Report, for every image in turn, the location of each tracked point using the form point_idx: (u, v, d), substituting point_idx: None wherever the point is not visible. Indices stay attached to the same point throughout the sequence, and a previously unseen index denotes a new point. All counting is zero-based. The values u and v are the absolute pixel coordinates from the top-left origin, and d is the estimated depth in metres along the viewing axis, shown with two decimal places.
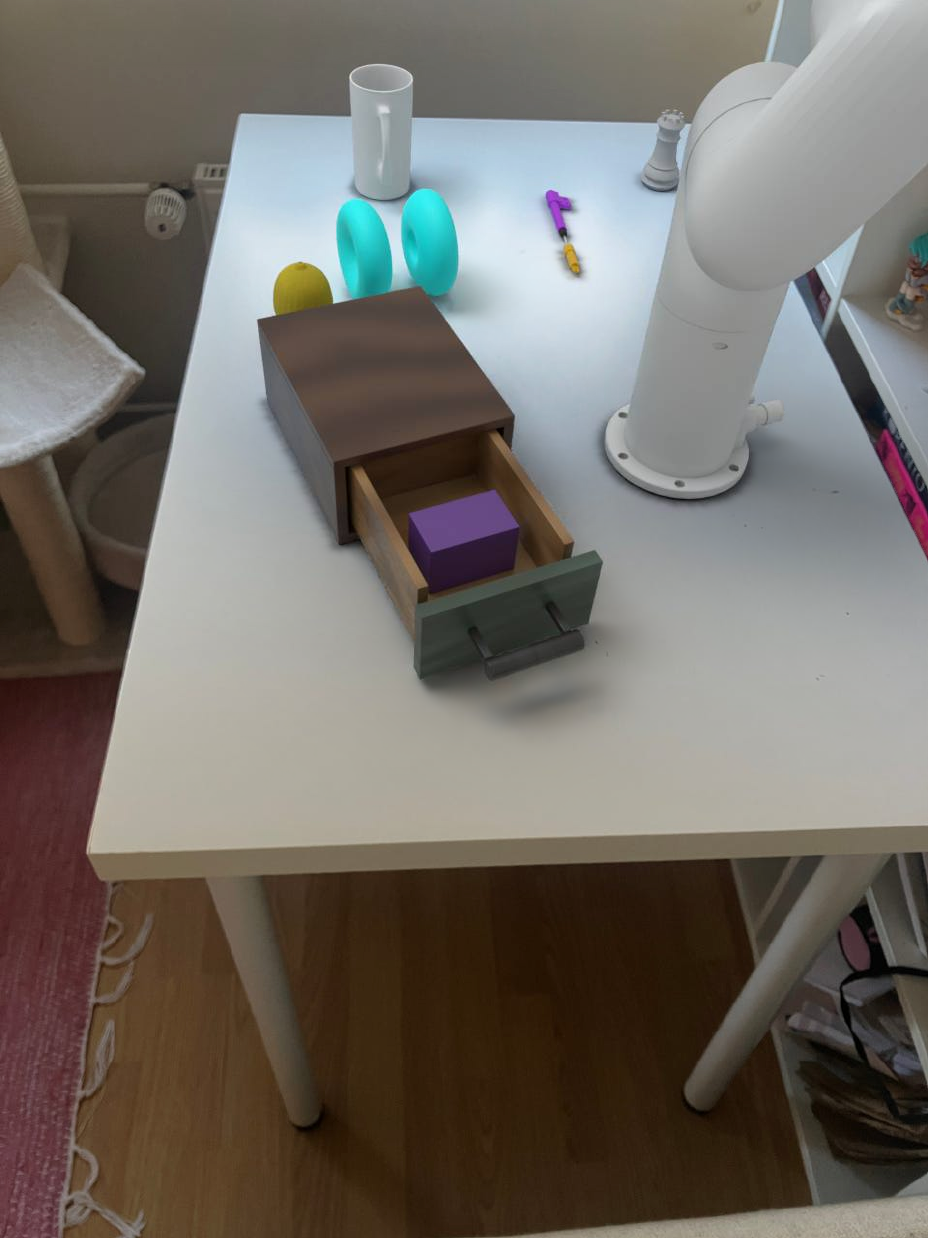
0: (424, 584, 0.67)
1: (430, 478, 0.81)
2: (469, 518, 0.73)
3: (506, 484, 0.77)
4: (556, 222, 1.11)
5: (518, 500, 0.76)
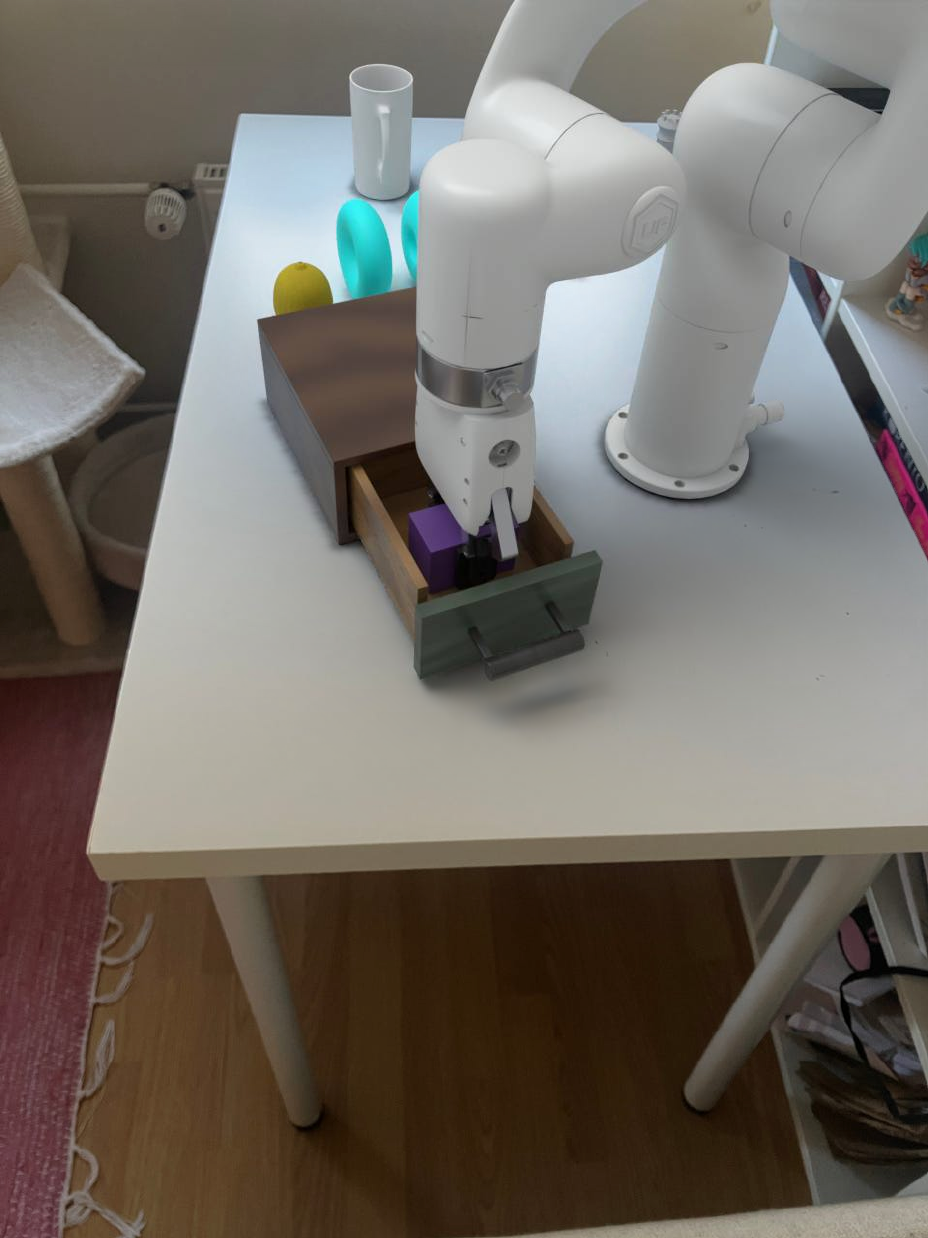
0: (424, 584, 0.67)
1: None
2: None
3: None
4: None
5: None
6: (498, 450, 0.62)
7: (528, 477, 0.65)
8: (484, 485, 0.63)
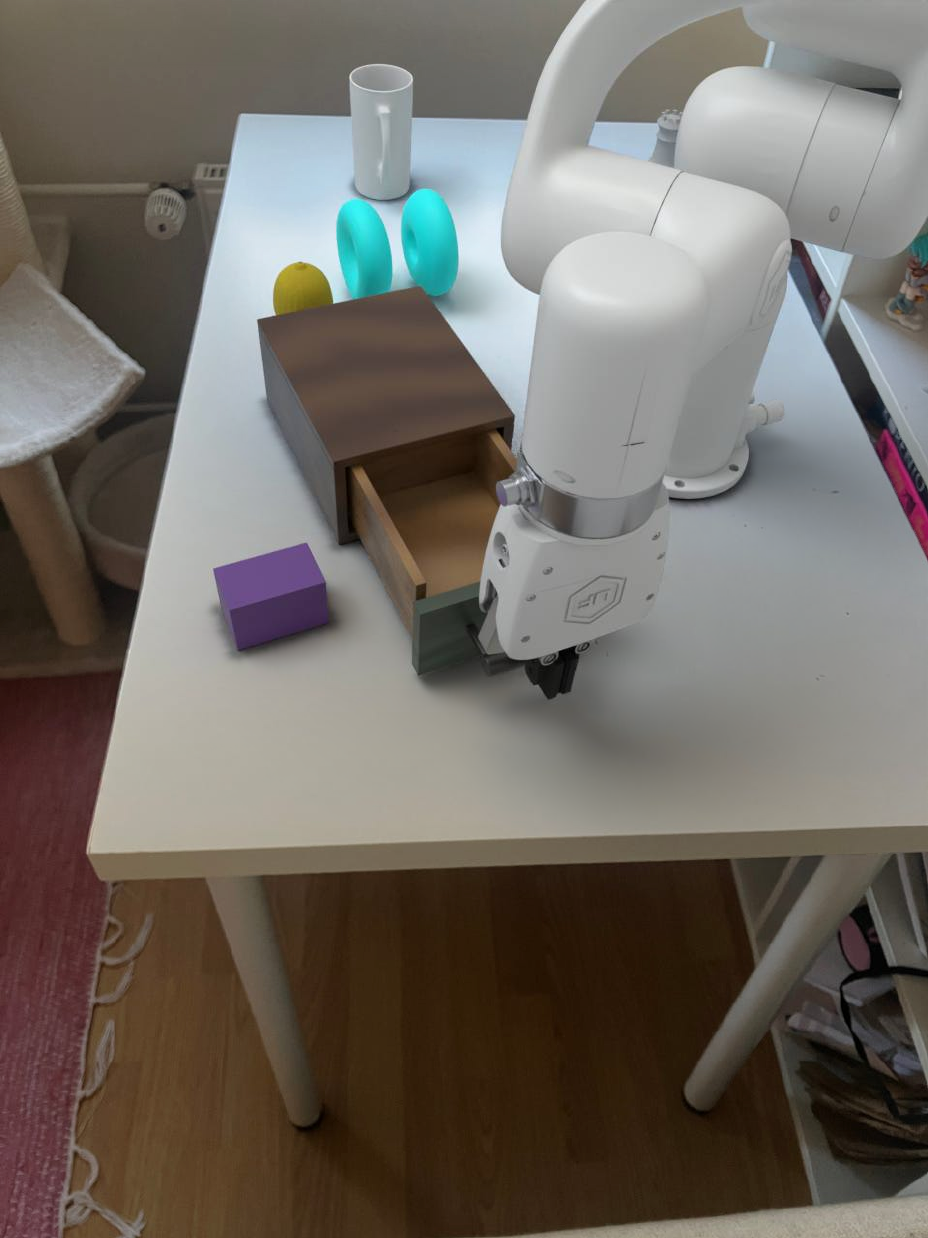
0: (422, 581, 0.68)
1: (428, 476, 0.81)
2: (275, 574, 0.71)
3: None
4: None
5: None
6: (504, 544, 0.54)
7: (510, 605, 0.55)
8: (486, 562, 0.56)
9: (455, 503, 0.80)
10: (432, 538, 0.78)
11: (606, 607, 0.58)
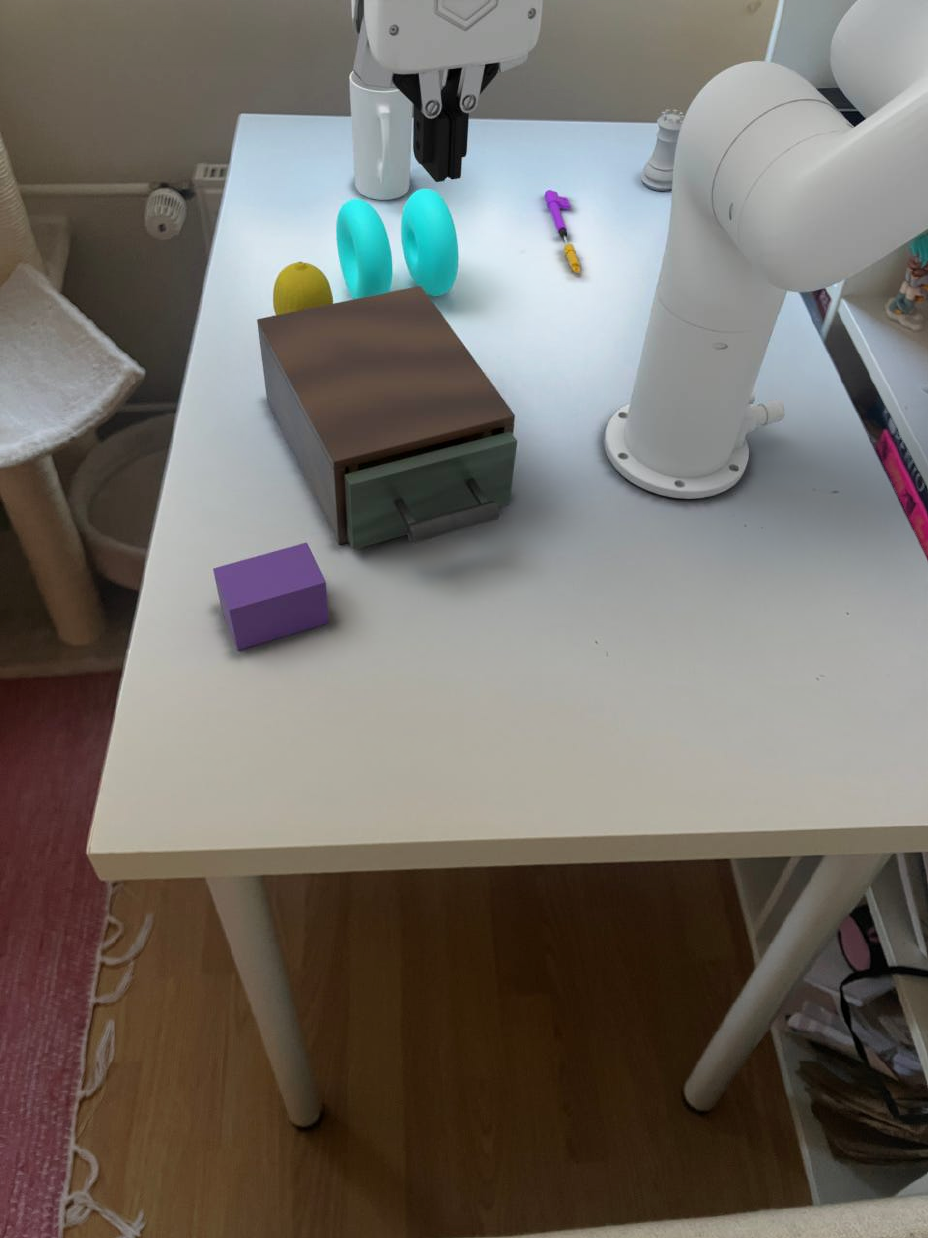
0: None
1: None
2: (275, 574, 0.71)
3: None
4: (556, 222, 1.11)
5: None
6: None
7: None
8: None
9: None
10: None
11: (482, 7, 0.54)
